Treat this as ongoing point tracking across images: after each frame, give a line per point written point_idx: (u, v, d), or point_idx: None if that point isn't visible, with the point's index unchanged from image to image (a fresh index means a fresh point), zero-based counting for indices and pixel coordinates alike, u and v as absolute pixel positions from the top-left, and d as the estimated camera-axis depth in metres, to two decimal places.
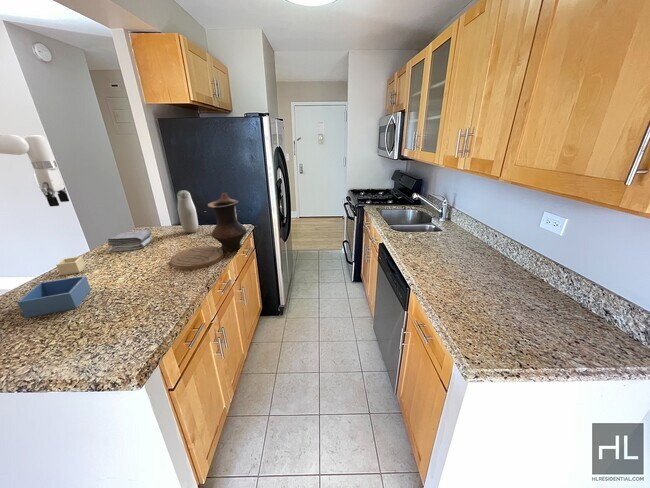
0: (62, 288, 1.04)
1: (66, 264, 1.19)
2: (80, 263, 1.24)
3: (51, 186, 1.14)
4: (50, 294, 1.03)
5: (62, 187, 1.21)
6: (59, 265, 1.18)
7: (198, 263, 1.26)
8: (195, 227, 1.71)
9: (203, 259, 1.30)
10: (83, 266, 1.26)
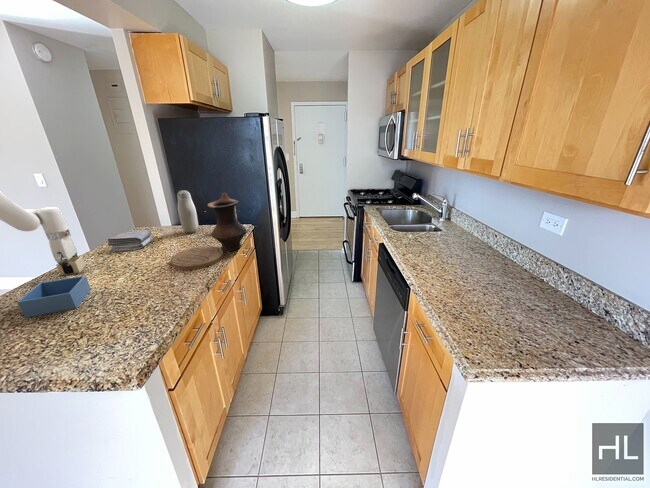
0: (62, 288, 1.04)
1: None
2: (80, 263, 1.24)
3: (65, 255, 1.16)
4: (50, 294, 1.03)
5: (75, 252, 1.23)
6: (59, 265, 1.18)
7: (198, 263, 1.26)
8: (195, 227, 1.71)
9: (203, 259, 1.30)
10: (83, 266, 1.26)
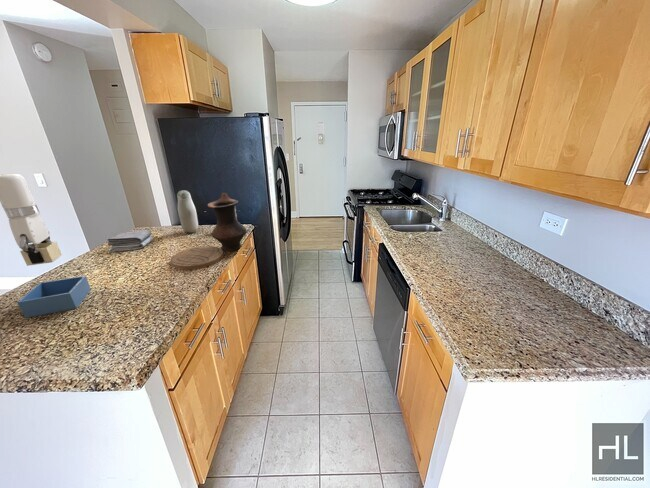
0: (62, 288, 1.04)
1: None
2: (54, 250, 0.96)
3: (31, 238, 0.88)
4: (50, 294, 1.03)
5: (46, 236, 0.95)
6: (24, 252, 0.90)
7: (198, 263, 1.26)
8: (195, 227, 1.71)
9: (203, 259, 1.30)
10: (58, 254, 0.98)
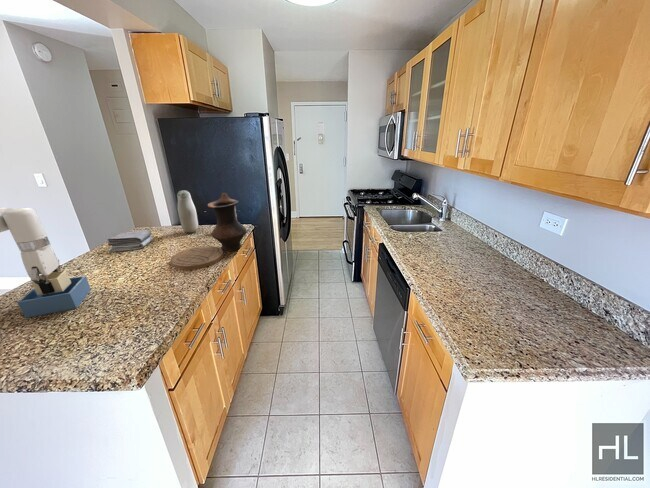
0: None
1: None
2: (64, 279, 0.98)
3: (42, 270, 0.90)
4: (50, 294, 1.03)
5: (56, 265, 0.97)
6: None
7: (198, 263, 1.26)
8: (195, 227, 1.71)
9: (203, 259, 1.30)
10: (68, 283, 0.99)
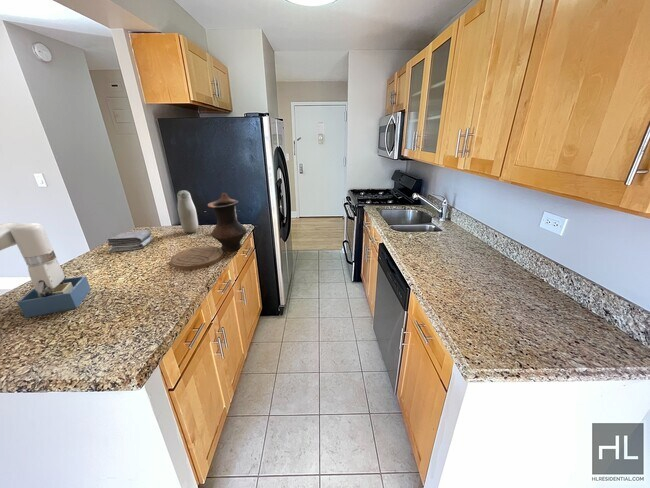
0: None
1: None
2: None
3: (48, 284, 0.92)
4: None
5: (62, 278, 0.99)
6: None
7: (198, 263, 1.26)
8: (195, 227, 1.71)
9: (203, 259, 1.30)
10: None
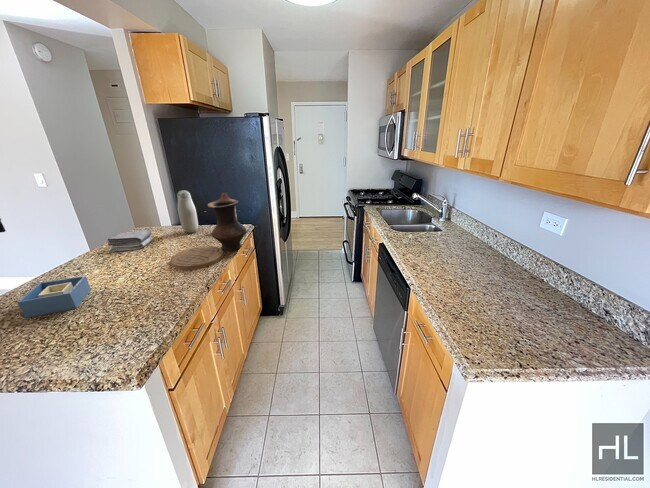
0: None
1: (51, 294, 0.94)
2: None
3: None
4: None
5: None
6: (42, 296, 0.94)
7: (198, 263, 1.26)
8: (195, 227, 1.71)
9: (203, 259, 1.30)
10: None
